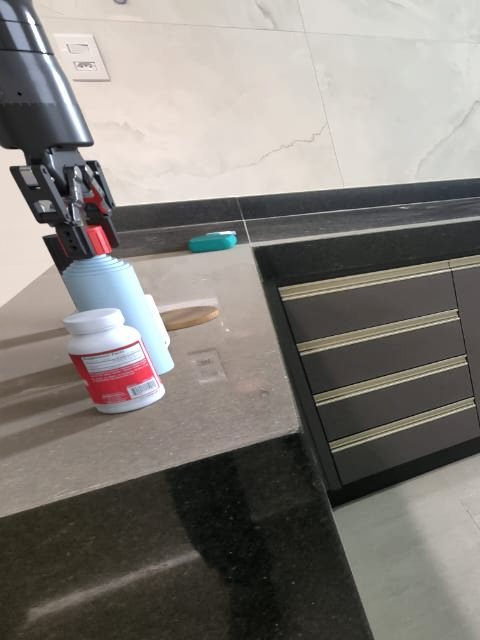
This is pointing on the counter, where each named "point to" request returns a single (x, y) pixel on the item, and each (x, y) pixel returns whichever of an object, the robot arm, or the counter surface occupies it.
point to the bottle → (117, 300)
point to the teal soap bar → (213, 242)
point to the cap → (95, 239)
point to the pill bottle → (112, 361)
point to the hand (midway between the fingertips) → (97, 252)
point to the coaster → (188, 316)
